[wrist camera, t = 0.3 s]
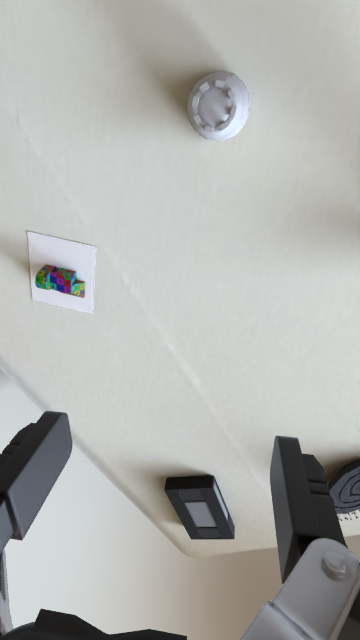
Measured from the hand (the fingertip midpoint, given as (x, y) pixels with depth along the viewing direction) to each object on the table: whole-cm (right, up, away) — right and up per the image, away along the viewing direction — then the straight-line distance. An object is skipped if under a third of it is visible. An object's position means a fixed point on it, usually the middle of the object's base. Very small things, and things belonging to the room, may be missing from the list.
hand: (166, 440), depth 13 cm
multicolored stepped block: (-12, +9, +23) cm, 27 cm away
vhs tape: (+4, -25, +42) cm, 49 cm away
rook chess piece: (+4, +21, +13) cm, 25 cm away
